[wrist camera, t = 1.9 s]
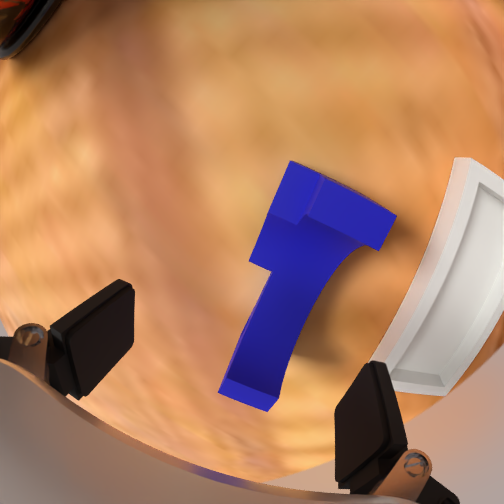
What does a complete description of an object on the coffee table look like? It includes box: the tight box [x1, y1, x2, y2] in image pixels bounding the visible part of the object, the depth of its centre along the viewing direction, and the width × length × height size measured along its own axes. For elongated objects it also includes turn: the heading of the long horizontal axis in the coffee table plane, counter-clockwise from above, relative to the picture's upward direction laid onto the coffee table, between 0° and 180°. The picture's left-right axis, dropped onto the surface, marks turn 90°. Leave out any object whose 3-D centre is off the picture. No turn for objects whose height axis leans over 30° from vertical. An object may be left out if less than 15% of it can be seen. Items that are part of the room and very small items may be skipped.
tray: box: [368, 157, 504, 396], centre depth 14 cm, size 16×8×2 cm, turn 166°
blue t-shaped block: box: [218, 161, 397, 412], centre depth 14 cm, size 12×4×6 cm, turn 158°
